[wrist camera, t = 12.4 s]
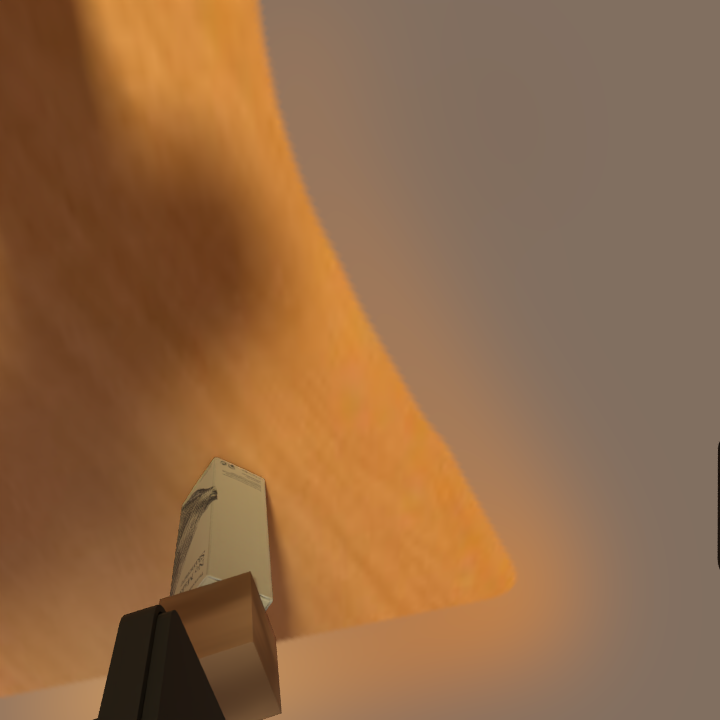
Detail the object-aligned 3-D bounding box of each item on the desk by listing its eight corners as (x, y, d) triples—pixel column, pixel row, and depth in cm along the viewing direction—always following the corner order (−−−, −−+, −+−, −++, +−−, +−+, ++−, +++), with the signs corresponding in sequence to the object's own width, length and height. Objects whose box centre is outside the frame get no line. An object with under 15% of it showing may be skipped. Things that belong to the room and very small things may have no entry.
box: (214, 453, 45) (207, 569, 34) (267, 477, 47) (278, 598, 35) (178, 508, 46) (159, 640, 35) (230, 531, 48) (229, 665, 36)
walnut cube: (160, 599, 34) (148, 675, 29) (250, 571, 34) (253, 641, 29) (190, 664, 36) (183, 745, 31) (275, 637, 36) (281, 713, 31)
